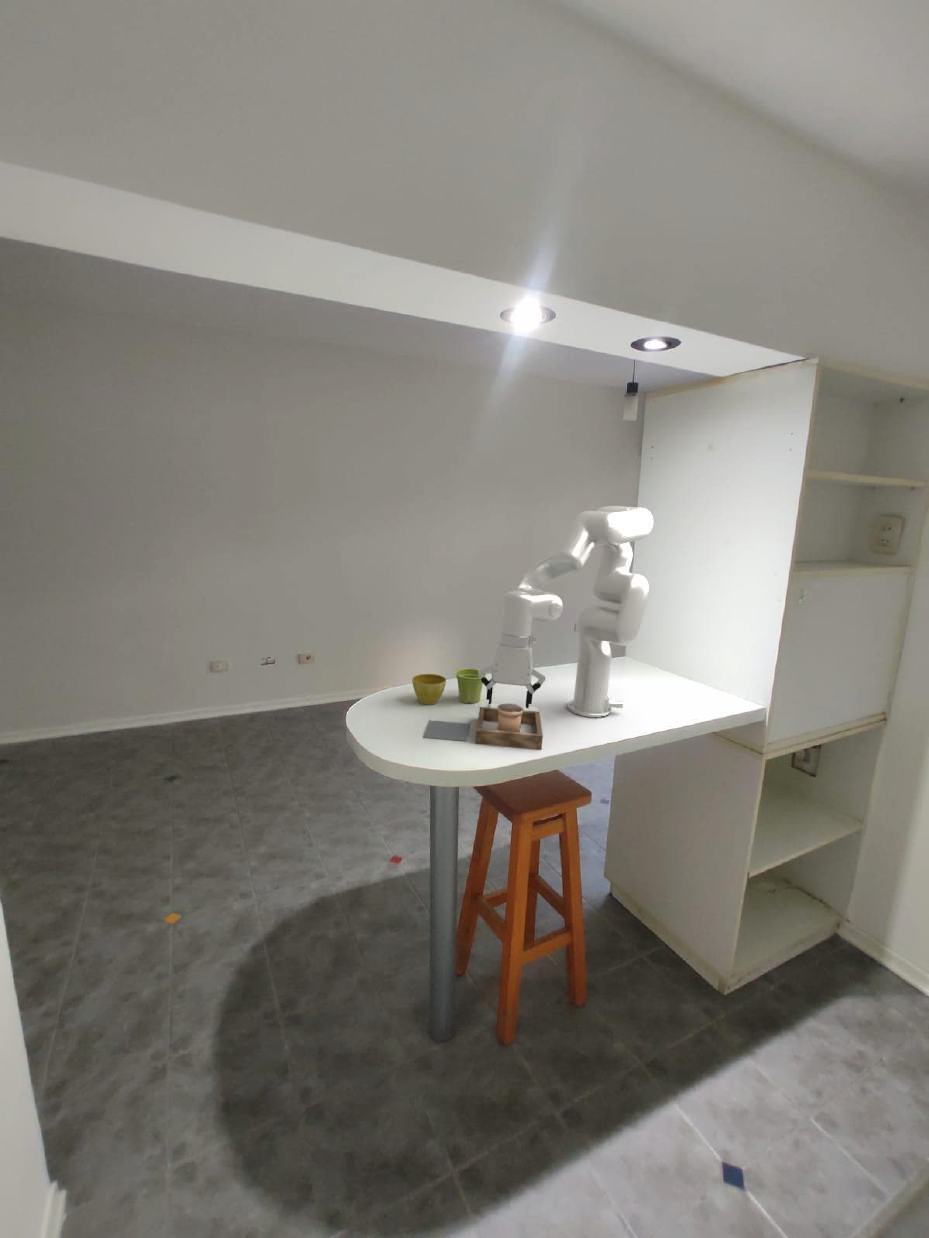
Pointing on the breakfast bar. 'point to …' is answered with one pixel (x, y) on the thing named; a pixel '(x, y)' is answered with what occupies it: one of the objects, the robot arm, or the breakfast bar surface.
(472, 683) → the plant pot
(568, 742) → the breakfast bar surface
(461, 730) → the slate mat
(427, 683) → the flower pot
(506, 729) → the terracotta pot
